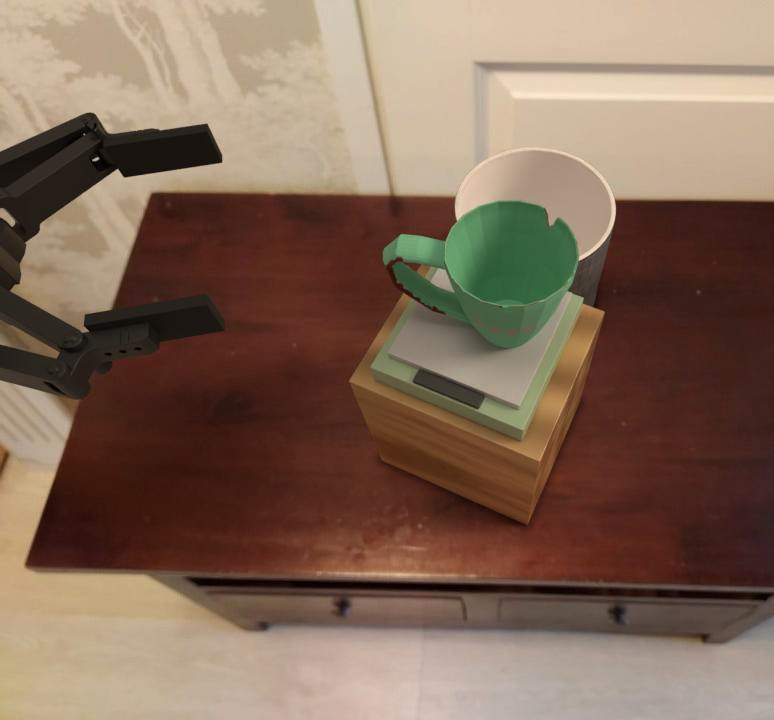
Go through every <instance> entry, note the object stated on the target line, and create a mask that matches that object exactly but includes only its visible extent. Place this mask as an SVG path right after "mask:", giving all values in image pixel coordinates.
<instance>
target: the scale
mask: <svg viewBox="0 0 774 720" xmlns="http://www.w3.org/2000/svg"><path fill="white" fill-rule="evenodd" d="M425 279H427V280H428V281H429V282H431V283H432V284H434V285H435V286H436V287H439V288H442V289H445V290H448V291H451V292H454V290H453V288H452V286H451V283H450V280H449V278H448V275H447V273H446V270H444V269H440V268H436V267H431V268H430V270H429V271H428V273H427V275H426V276H425ZM454 293H455V292H454ZM583 300H584V298H583V297H580V296H577V295H574V294H572V293H571V292H568V291H567V292H566V294H565V295H564V297H563V298H562V300H561V302H560V304H559V306H558V308H557V310H556V311H555V313H554V314H553V315H552V317H551V318H550V319H549V321H548V322H547V323H546V324H545V326H544V327H543V328H542V329H541V330H540V332H539V333H538V334H536V335H535V336H534V337H533V338H532V339H530V340H529V341H528V342H526V343H525V344H523V345H522V346H519V347H515V348H502V347H498V346H495V345H493V344H492V343H490V342H488V341H487V340H486V339H485V338H484V337H483V336H482V335H481V334H480V332H479V331H478V330H477V329H476V328H475V327H474V326H473V324H470V323H467V322H464V321H461V320H458V319H455V318H452V317H449V316H446V315H443V314H440V313H437V312H434V311H431V310H429V309H428V308H426V307H425V306H423V305H422V304H420V303H418V302H417V301H415V300H414V299H411V301H410V302H409V304H408V306H407V307H406V309H405V311H404V312H403V314H402V316H401V317H400V319H399V321H398V322H397V324H396V325H395V327H394V329H393V330H392V332H391V334H390V335H389V337H388V339H387V340H386V342H385V344H384V345H383V347H382V348H381V350H380V352H379V353H378V355H377V357H376V358H375V360H374V362H373V363H372V365H371V367H370V369H371V372H372V374H373V377H374V380H376V381H378V382H380V383H383V384H385V385H388V386H390V387H392V388H395V389H397V390H400V391H402V392H404V393H407V394H409V395H412V396H414V397H416V398H419V399H421V400H424V401H426V402H428V403H431V404H433V405H436V406H438V407H440V408H443V409H445V410H447V411H450V412H452V413H455V414H457V415H459V416H462V417H464V418H467V419H469V420H471V421H474V422H476V423H479V424H481V425H483V426H486V427H488V428H491V429H493V430H495V431H498V432H500V433H503V434H505V435H507V436H510V437H512V438H515V439H517V440H519V441H522V440H523V438H524V436H525V434H526V431H527V429H528V427H529V425H530V423H531V420H532V418H533V416H534V414H535V412H536V409H537V407H538V405H539V403H540V401H541V399H542V396H543V394H544V392H545V390H546V388H547V385H548V383H549V381H550V379H551V377H552V374H553V372H554V370H555V368H556V366H557V363H558V361H559V359H560V357H561V355H562V352H563V350H564V348H565V346H566V344H567V341H568V339H569V337H570V335H571V333H572V330H573V328H574V326H575V324H576V322H577V319H578V317H579V315H580V313H581V309H582V304H583Z"/></svg>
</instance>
